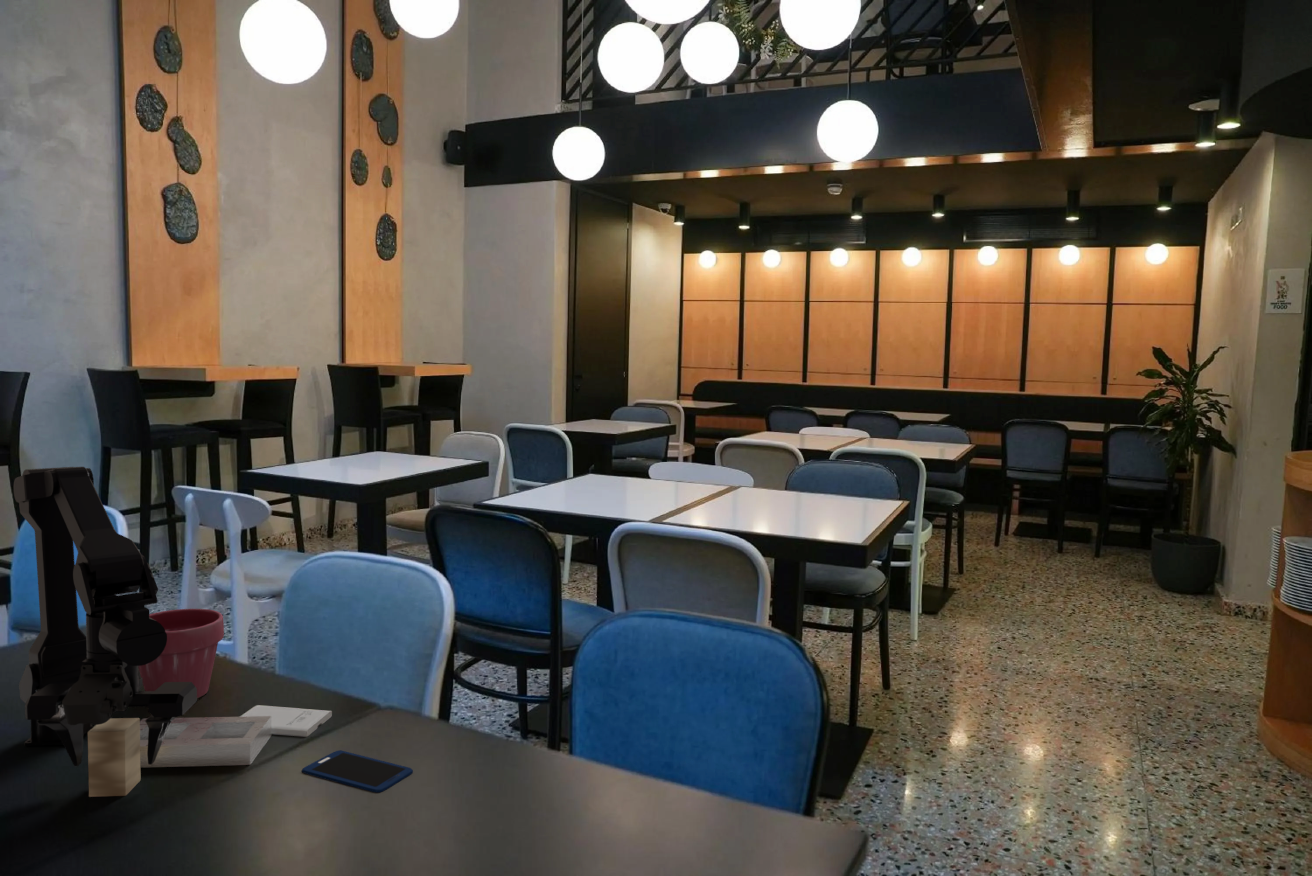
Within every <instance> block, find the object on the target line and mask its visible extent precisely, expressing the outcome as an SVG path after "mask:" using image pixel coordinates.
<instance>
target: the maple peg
mask: <svg viewBox="0 0 1312 876" xmlns="http://www.w3.org/2000/svg"><path fill="white" fill-rule="evenodd" d="M140 721H141V718H139V717H123V718H121V717H119V718H110V719H109V720H108V721H107V722H105V723H103V724H99V725H94V726H93V728H92V729H91V730H89V731H88V732H87V757H88V758H87V761H88V762H87V763H88V765H87V766H88V797H89V798H91V797H92V798H93V797H96V798H97V797H125V796H126V797H127V795H128V794H129V793H130V792H131V791H132V790H133V789H134V788H135V787H136V785H137V784H138V783H140V781H142V780H141V779H142V778H141V774H142V773H141V768H140Z"/></svg>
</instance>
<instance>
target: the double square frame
mask: <svg viewBox="0 0 1312 876" xmlns="http://www.w3.org/2000/svg"><path fill="white" fill-rule="evenodd" d="M148 718H149V717H147V718H145V717H144V718H142V719H140V769H141V768H167V767H168V768H170V767H171V768H172V767H173V768H174V767H176V768H177V767H178V768H179V767H210V766H211V767H212V766H215V767H216V766H217V767H219V766H246V765H247V766H251V765H252V763H253V762H254V760H255V759H256V758H257V756H258V755H259V753H260V752H261V751H262V749H263V748H264V747H265V745H266V744H267V742H268V741H269V739H270V738H271V737H272V734H271V716H249V717H240V716H211V717H209V716H208V717H207V716H206V717H176V718H175V719H174V720H172V721H171V723H170V725H169V727H168V729H167V731H166V734H165V736H164V739H163V741H162V744H161V746H160V749H159V751H158V754H157V756H156V759H155V761H154V762H153V763H152V764H148V757H147V750H148V733H149V728H148V725H147V724H146V721H145V720H146V719H148Z"/></svg>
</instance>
